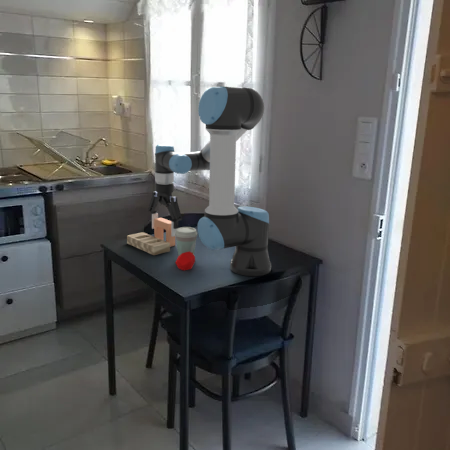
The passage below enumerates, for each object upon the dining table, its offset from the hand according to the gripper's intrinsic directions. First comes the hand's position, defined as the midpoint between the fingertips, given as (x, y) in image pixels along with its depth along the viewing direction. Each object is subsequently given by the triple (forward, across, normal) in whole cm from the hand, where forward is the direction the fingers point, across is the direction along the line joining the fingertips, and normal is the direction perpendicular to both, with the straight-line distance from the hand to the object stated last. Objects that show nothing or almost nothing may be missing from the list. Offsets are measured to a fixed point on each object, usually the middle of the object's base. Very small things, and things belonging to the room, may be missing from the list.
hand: (164, 232), depth 204 cm
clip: (+5, 0, 0) cm, 5 cm away
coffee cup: (+5, -21, +6) cm, 22 cm away
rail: (+5, 0, +8) cm, 10 cm away
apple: (+5, -28, +12) cm, 31 cm away
